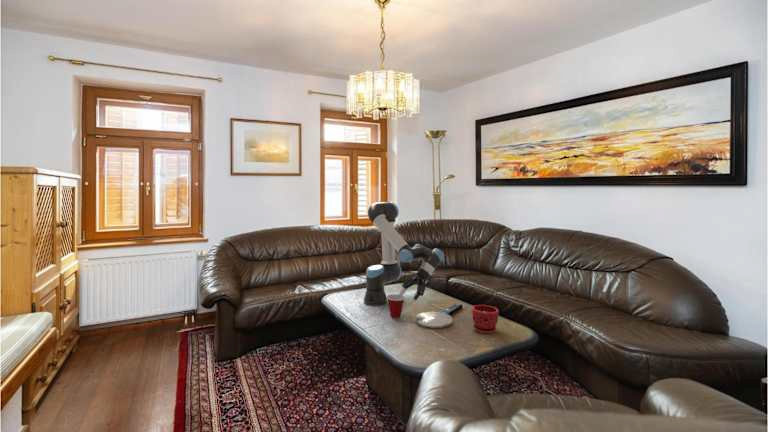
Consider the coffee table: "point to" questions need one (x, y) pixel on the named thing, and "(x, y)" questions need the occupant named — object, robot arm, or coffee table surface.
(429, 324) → the disc
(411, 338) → the coffee table surface
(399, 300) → the plastic cup
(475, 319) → the plant pot
